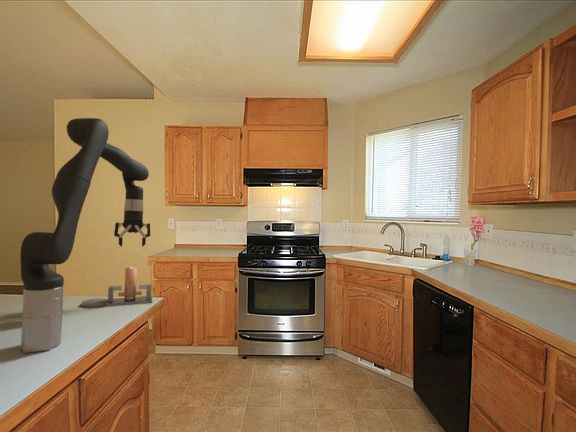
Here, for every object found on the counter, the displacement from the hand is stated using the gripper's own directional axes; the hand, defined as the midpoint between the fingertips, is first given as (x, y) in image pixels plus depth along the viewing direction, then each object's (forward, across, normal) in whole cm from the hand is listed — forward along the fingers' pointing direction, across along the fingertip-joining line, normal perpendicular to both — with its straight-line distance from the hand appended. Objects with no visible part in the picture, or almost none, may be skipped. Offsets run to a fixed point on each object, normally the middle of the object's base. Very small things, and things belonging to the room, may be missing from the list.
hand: (132, 246), depth 137 cm
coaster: (+25, -13, 0) cm, 28 cm away
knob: (+22, 0, 0) cm, 22 cm away
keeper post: (+25, 0, 0) cm, 25 cm away
